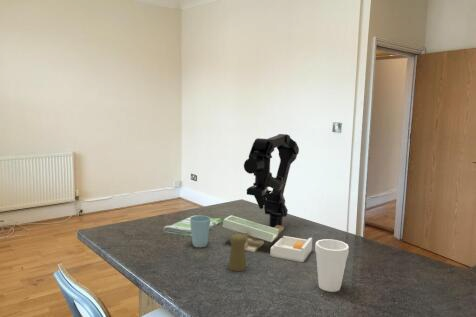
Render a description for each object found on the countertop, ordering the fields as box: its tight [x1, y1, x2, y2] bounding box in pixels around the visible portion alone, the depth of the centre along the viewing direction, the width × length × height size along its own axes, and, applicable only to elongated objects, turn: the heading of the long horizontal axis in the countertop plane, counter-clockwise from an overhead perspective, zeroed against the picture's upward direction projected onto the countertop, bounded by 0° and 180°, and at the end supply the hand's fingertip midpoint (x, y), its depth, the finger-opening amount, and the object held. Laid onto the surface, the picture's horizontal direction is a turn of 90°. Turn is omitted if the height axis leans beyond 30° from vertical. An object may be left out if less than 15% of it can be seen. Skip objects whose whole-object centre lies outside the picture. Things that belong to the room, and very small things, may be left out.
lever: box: [222, 215, 285, 243], centre depth 149 cm, size 16×20×3 cm
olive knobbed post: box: [227, 233, 247, 272], centre depth 125 cm, size 6×6×11 cm
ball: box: [293, 242, 304, 250], centre depth 137 cm, size 4×4×4 cm
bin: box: [269, 235, 313, 263], centre depth 138 cm, size 12×12×5 cm
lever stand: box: [241, 232, 265, 253], centre depth 145 cm, size 11×8×7 cm
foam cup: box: [314, 238, 350, 293], centre depth 113 cm, size 10×9×13 cm
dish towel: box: [162, 214, 223, 238], centre depth 166 cm, size 17×23×4 cm
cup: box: [190, 215, 212, 248], centre depth 144 cm, size 8×8×10 cm
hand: (261, 208), depth 154 cm, fingers closed
